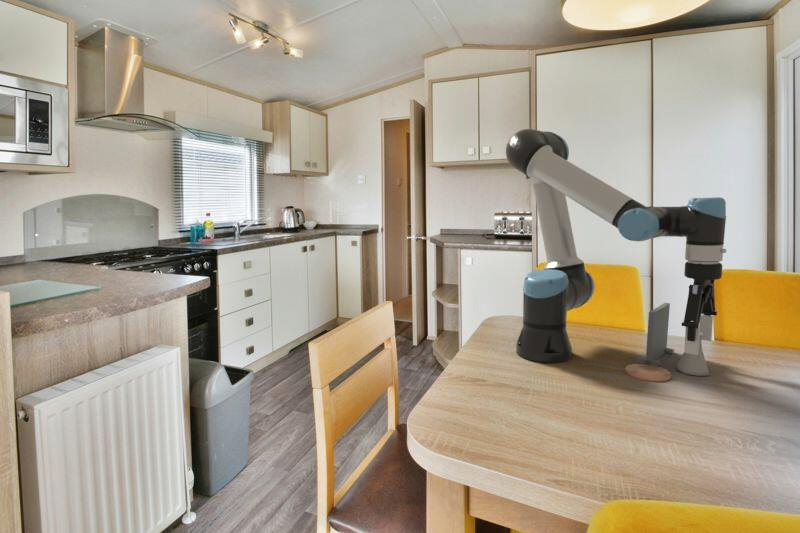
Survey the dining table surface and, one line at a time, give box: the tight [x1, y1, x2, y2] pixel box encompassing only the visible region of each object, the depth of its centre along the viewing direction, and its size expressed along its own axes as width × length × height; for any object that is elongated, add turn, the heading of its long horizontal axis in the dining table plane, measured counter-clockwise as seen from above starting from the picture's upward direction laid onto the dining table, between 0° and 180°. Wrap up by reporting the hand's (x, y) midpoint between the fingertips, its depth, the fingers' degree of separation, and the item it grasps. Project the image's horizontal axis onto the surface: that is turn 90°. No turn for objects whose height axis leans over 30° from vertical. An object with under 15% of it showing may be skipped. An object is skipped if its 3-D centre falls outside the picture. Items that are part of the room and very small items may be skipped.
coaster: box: [624, 363, 672, 383], centre depth 111 cm, size 10×10×1 cm
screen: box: [637, 302, 675, 367], centre depth 121 cm, size 5×14×14 cm, turn 135°
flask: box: [676, 333, 711, 377], centre depth 111 cm, size 7×7×10 cm
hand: (698, 346), depth 110 cm, fingers open, 13 cm apart
